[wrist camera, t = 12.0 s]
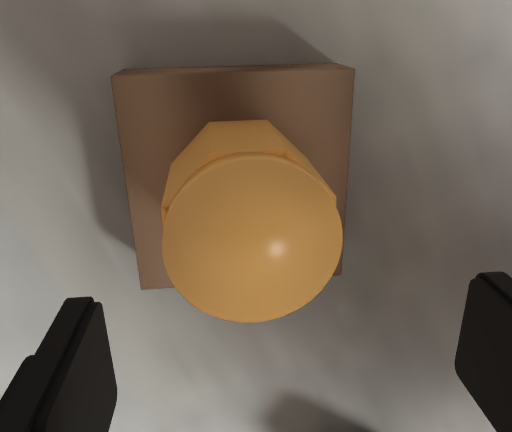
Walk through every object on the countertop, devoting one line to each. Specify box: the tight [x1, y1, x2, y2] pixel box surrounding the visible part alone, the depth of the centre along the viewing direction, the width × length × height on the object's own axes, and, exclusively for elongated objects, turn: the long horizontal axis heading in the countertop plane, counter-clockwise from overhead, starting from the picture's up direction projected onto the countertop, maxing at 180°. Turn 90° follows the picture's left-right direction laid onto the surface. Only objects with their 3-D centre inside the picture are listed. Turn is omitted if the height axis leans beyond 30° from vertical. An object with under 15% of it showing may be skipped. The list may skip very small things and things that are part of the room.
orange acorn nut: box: [161, 120, 343, 323], centre depth 17 cm, size 6×6×6 cm
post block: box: [111, 63, 355, 290], centre depth 20 cm, size 10×10×8 cm
